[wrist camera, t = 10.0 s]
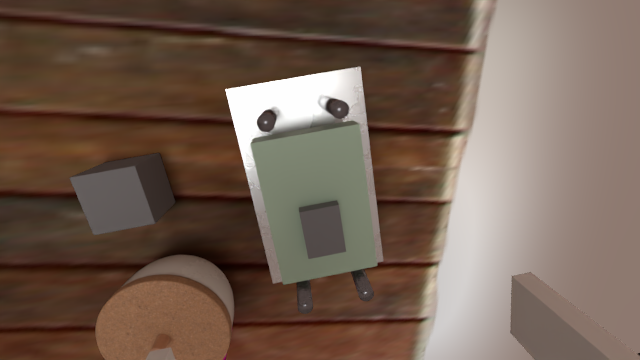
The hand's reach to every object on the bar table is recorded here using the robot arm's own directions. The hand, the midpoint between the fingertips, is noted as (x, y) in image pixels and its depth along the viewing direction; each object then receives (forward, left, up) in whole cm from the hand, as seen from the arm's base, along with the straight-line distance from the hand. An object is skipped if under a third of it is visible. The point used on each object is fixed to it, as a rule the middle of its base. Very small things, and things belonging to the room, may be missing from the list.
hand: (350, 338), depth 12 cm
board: (0, 0, -16) cm, 16 cm away
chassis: (0, 0, -20) cm, 21 cm away
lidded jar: (-14, -9, -21) cm, 27 cm away
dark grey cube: (-16, +3, -20) cm, 26 cm away
